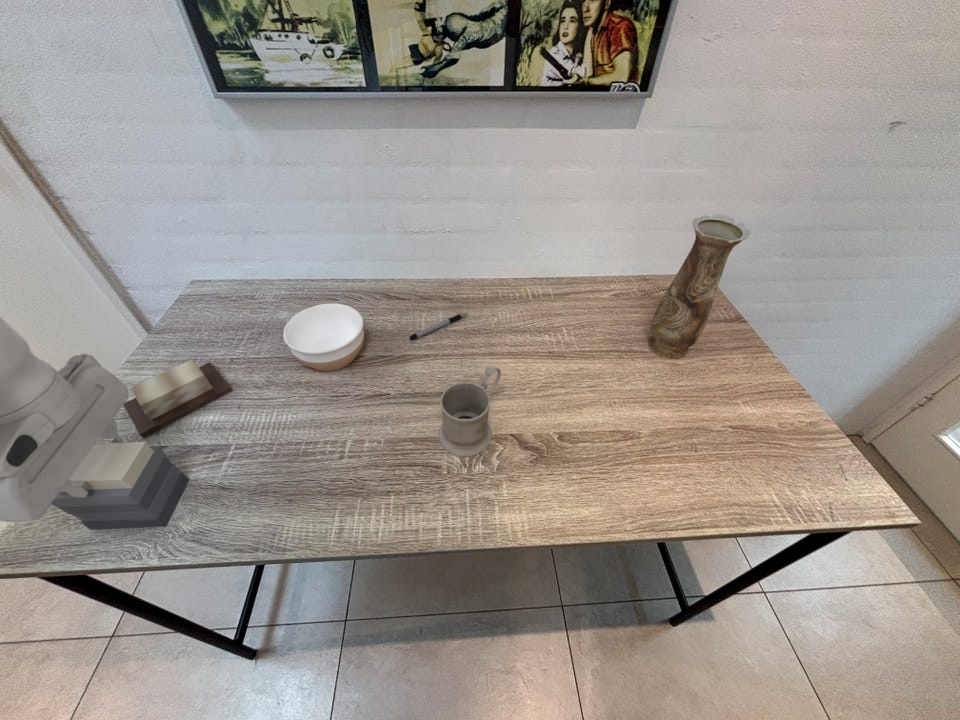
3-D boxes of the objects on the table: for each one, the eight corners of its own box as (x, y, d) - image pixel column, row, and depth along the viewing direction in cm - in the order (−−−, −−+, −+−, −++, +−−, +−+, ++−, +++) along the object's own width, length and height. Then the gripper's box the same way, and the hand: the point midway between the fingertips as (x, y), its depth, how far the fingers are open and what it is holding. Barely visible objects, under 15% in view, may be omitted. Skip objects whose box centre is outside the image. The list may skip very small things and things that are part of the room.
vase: (700, 354, 93) (768, 232, 72) (665, 367, 90) (725, 244, 69) (667, 327, 100) (721, 208, 79) (633, 338, 97) (680, 218, 76)
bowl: (384, 351, 91) (378, 323, 86) (323, 392, 82) (313, 364, 77) (339, 321, 98) (332, 294, 93) (279, 356, 89) (267, 328, 84)
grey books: (90, 529, 62) (43, 498, 55) (120, 481, 68) (80, 448, 61) (166, 526, 63) (128, 495, 56) (189, 479, 68) (158, 445, 61)
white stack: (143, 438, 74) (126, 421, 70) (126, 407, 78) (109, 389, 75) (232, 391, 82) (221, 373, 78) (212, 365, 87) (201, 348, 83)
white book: (48, 491, 56) (34, 482, 54) (76, 453, 60) (64, 444, 58) (132, 488, 56) (121, 479, 55) (154, 451, 61) (145, 441, 59)
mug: (467, 466, 71) (467, 425, 63) (427, 435, 76) (423, 393, 67) (516, 417, 79) (523, 375, 71) (478, 391, 84) (480, 349, 75)
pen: (409, 339, 95) (408, 334, 94) (466, 313, 102) (466, 309, 101) (411, 342, 94) (411, 337, 93) (469, 316, 101) (469, 311, 100)
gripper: (58, 347, 55) (119, 410, 65) (-82, 486, 41) (24, 542, 50) (107, 346, 55) (160, 409, 65) (-14, 484, 41) (78, 539, 51)
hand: (100, 468), depth 58 cm, fingers closed on white book, 6 cm apart
